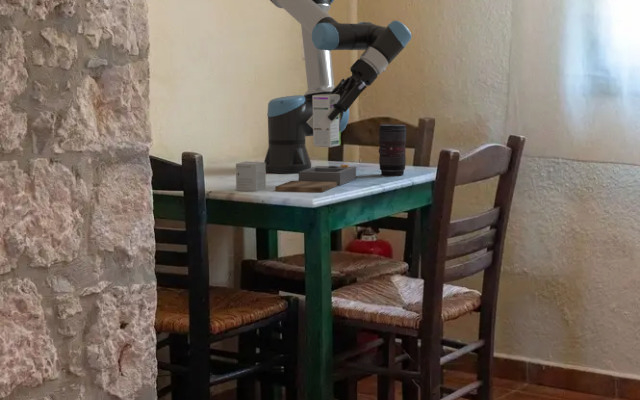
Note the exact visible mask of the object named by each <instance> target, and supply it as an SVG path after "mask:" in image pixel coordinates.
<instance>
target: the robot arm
mask: <svg viewBox="0 0 640 400" xmlns="http://www.w3.org/2000/svg"><path fill="white" fill-rule="evenodd" d="M269 1H270V2H271V4H273V5H274V6H275V7H276V8H279V9H283V10H285V11H286V13H288V14H289V15H290V16H292V18H293V19H295V20H296V21H297V22H298V23H299V24H300V26H301V36H302V37H301V38H302V46H303V48H302V49H303V56H304V57H303V58H304V64H305V65H304V66H305V73H306V76H305V77H306V85H307V91H306V92H305V93H304V94H303V95H302V94H301V95H299V94H298V95H297V94H296V95H288V96H287V95H286V96H280V97H276V98H272V99H271V100H270V101H269V102H268V104H267V130H268V131H267V135H268V136H267V139H268V145H267V146H268V148H267V150H266V155H265V158H264V161H263V162H265V163H266V173H273V174H296V173H298V174H299V172H300V171H303V170H306V169H309V168H312V161H311V158H310V155H309V153H308V149H307V147H306V137H313V99H312V96H313V95H321V94H339V95H340V99H339V101H338V102H337V104H336V103H335V104H333V106H334V107H335V108H334V107H332V108H331V109H330V110H329V111H328V112H327V113H326V114H325V116H324V117H323V118H322V119H321V120H320V121H319V122H318V123H317V125H318V126H319V127H320V128H321V129H322V130H323V131H325V130H326V129H327V128H328V126H329V125H330V124H331V123H332V122H333V121H334V120H335V119H336V118H337V116H338V115H339V113H340V130H341V133H343V131H344V130H346V127H347V125H348V122H349V119H350V108H351V106H352V105H353V103H354V102H355V101H356V100H357V98H358V97H359V96H360V95H361V94H362V93H363V91H365V90H366V89H367V87H370V86H371V85H372V84H373V83H374V82H375V81H376V79H378V76H380V75H381V74H382V72H386V70H387V69H386V68H387V67H388V66H389V65H390V64H391V63H392V62H393V61H394V59H396V58H397V56H398V55H399V54H400V53H401V52H402V51H403V49H405V48H406V46H407V45H408V44H409V42H410V41H411V39H412V33H411V31H410V30H409V28H408V26H406V25H405V24H404V23H403V22H401V21H399V20H392V21H391V22H390V23H388V24H387V26H381V25H378V24H375V23H372V22H370V21H368V22H367V21H360V22H358V23H346V22H344V23H342V22H341V23H340V22H339V21H337V20H336V19H335V18H333V16H331V15H330V14H328V12H329V11H330V9H331V8H332V7H331V6H332V5H331V4H332V3H333V2H334V1H335V0H269ZM332 51H363V53H362V54H360V56H359V58H358V59H357V60H355V61H354V63H353V64H351V66H350V68H349V69H350V73H351V75H350V76H348V77H346V78H342V79H341V80H340V82H339V83H337V85H336V86H335V80H334V79H335V78H334V69H333V68H334V67H333V62H332V61H333V60H332V53H331V52H332Z"/></svg>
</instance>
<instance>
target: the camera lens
mask: <svg viewBox="0 0 640 400" xmlns="http://www.w3.org/2000/svg"><path fill="white" fill-rule="evenodd" d="M406 141H407V127H406V125H405V124H380V125H379V129H378V142H379V148H378V153H379V155H378V157H379V158H378V159H379V160H378V163H379V170H380V173H381V175H382V176H384V177H397V176H403V175H405V172H404V171H405V170H406V161H407V160H406V159H407V157H406V145H407V144H406V143H407V142H406Z"/></svg>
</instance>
